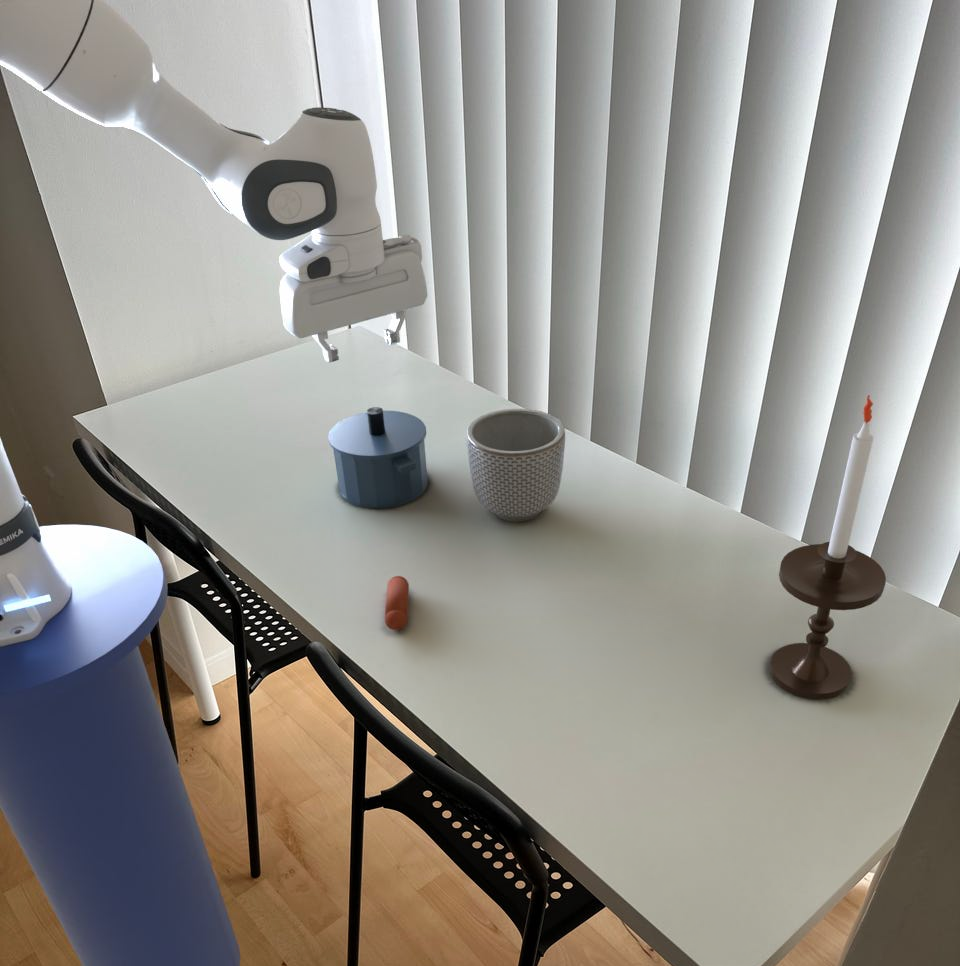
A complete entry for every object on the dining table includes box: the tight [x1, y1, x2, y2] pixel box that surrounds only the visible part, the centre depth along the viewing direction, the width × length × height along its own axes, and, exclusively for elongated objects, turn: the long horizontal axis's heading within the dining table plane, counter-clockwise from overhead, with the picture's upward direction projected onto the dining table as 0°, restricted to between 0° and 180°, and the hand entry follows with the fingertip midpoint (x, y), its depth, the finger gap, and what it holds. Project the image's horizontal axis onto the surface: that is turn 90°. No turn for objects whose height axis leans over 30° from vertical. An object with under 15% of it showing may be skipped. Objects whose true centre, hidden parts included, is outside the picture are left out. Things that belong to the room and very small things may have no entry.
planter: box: [465, 408, 566, 523], centre depth 141 cm, size 14×14×13 cm
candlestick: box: [768, 394, 887, 701], centre depth 103 cm, size 11×11×35 cm
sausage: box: [384, 575, 410, 631], centre depth 126 cm, size 10×3×3 cm, turn 2°
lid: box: [328, 406, 427, 459], centre depth 146 cm, size 15×15×5 cm
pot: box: [332, 440, 429, 509], centre depth 149 cm, size 14×19×8 cm
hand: (362, 351), depth 135 cm, fingers open, 8 cm apart
